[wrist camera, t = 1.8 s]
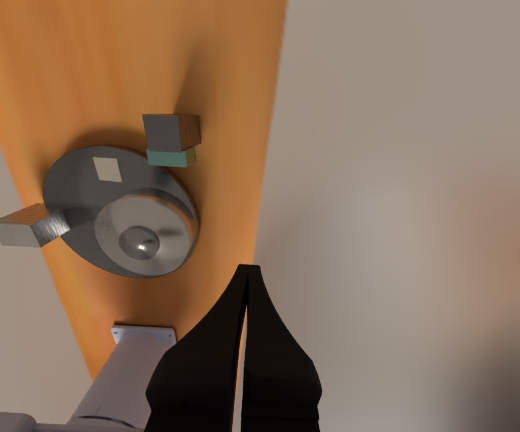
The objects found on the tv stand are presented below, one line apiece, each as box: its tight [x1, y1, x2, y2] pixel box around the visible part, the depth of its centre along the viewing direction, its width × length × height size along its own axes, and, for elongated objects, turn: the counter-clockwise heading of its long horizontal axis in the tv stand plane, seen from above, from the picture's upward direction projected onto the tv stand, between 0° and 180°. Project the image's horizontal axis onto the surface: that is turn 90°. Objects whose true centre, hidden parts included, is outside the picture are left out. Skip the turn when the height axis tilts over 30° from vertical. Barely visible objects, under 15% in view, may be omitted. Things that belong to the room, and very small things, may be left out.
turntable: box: [0, 145, 199, 278], centre depth 17 cm, size 13×14×4 cm
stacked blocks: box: [142, 114, 201, 167], centre depth 14 cm, size 3×2×4 cm
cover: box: [95, 188, 197, 275], centre depth 17 cm, size 7×7×3 cm
